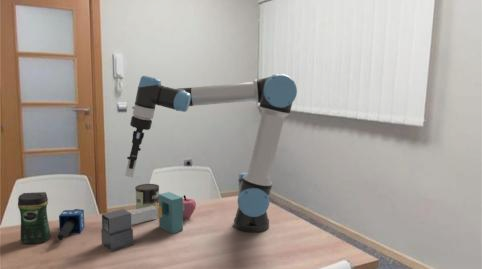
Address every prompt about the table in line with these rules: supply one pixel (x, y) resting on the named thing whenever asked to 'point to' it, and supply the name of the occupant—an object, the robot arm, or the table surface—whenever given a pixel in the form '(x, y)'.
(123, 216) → the stand
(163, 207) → the socket block
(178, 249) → the table surface
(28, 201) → the coffee jar
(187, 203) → the apple
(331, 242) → the table surface
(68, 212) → the microphone
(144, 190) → the coffee can
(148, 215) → the slip tube
